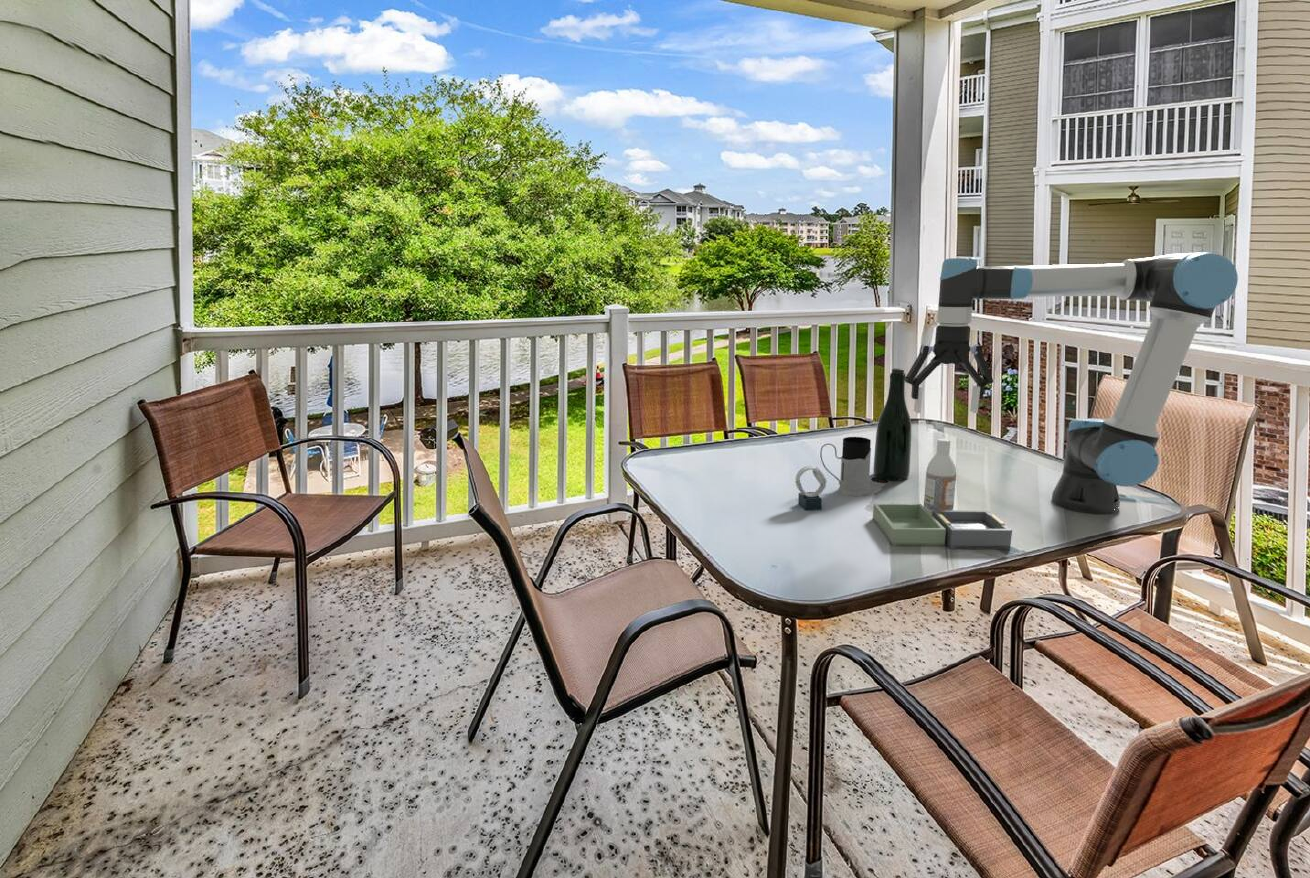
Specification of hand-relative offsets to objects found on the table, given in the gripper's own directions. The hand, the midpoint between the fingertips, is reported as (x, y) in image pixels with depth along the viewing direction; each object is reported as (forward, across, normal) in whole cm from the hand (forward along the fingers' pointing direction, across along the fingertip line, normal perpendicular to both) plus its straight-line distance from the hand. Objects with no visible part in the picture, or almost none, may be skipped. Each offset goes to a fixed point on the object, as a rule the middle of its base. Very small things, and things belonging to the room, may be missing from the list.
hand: (945, 412), depth 167 cm
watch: (+27, +31, -6) cm, 42 cm away
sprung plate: (+25, -2, +15) cm, 30 cm away
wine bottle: (+27, +2, -34) cm, 44 cm away
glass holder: (+27, +19, -20) cm, 39 cm away
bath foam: (+27, 0, 0) cm, 27 cm away
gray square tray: (+27, -2, +16) cm, 31 cm away
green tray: (+27, +11, +12) cm, 31 cm away
